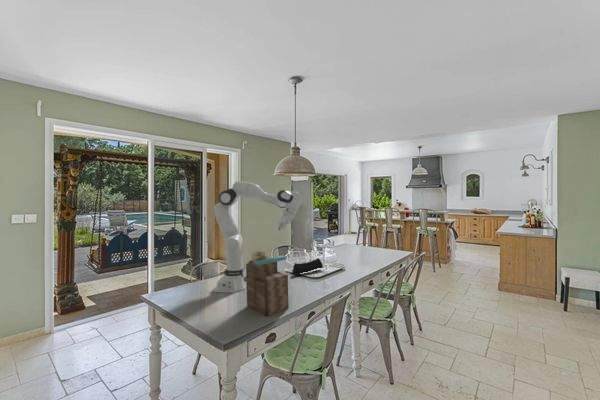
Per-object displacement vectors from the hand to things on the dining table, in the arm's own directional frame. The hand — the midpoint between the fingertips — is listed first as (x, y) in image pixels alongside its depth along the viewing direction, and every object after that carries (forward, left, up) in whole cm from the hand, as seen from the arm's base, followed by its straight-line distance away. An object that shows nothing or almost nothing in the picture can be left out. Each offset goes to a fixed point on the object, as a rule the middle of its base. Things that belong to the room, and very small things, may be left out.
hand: (280, 229), depth 199 cm
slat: (-6, -23, -17) cm, 29 cm away
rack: (-8, -28, -43) cm, 52 cm away
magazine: (+21, +44, -43) cm, 65 cm away
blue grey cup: (-24, +41, -43) cm, 64 cm away
